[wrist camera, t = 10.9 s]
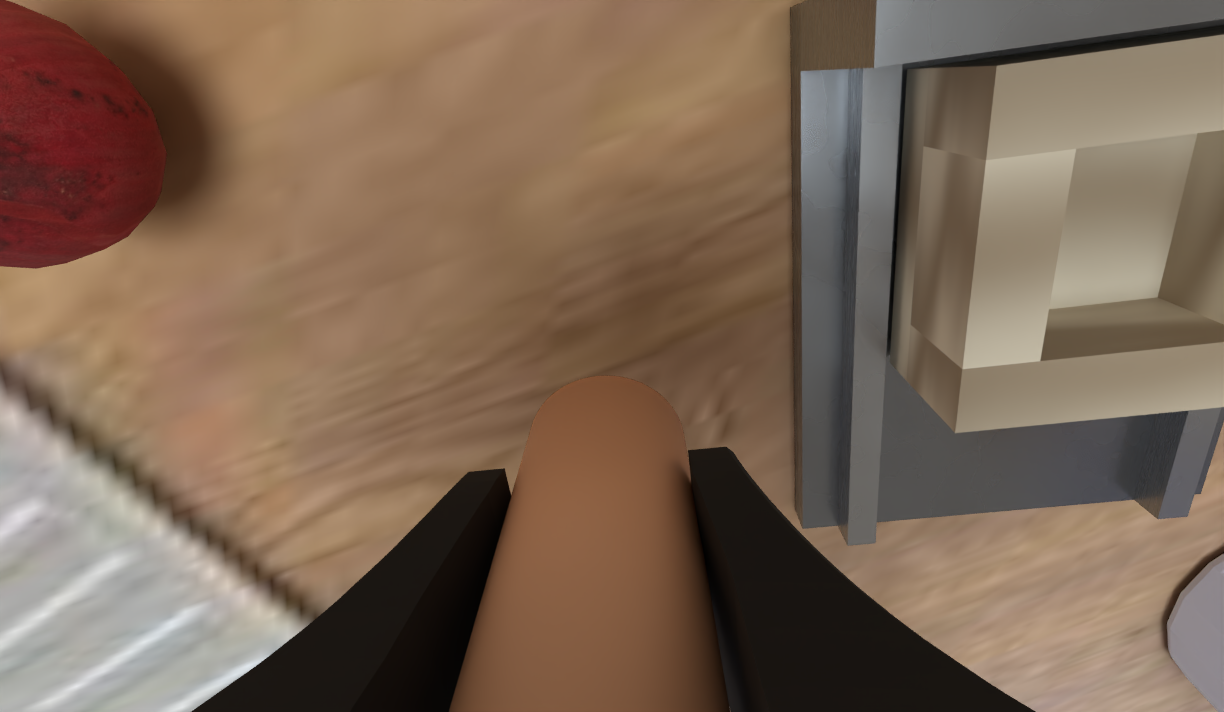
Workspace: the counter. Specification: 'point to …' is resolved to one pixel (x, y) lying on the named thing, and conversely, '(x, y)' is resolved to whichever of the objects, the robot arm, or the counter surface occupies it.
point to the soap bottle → (1201, 632)
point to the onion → (69, 145)
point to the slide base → (865, 274)
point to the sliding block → (1064, 233)
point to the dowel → (598, 568)
